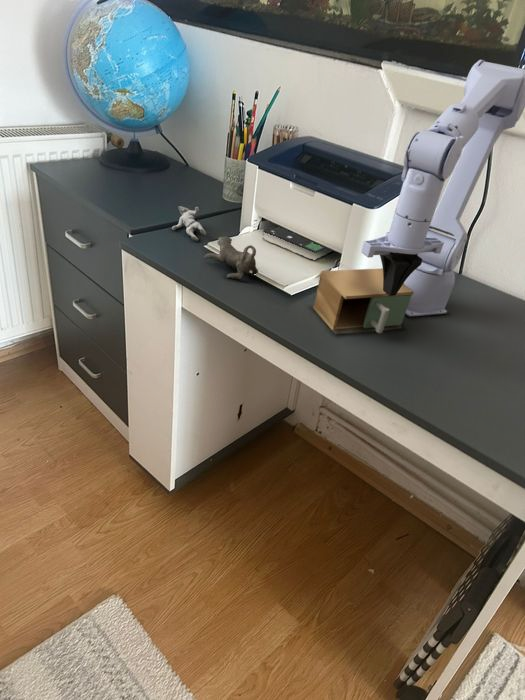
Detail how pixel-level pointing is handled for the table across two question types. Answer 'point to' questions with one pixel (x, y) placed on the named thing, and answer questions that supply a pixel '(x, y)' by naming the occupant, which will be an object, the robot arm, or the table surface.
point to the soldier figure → (189, 222)
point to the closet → (350, 298)
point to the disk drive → (294, 239)
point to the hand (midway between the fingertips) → (389, 292)
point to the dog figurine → (235, 258)
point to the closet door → (386, 311)
